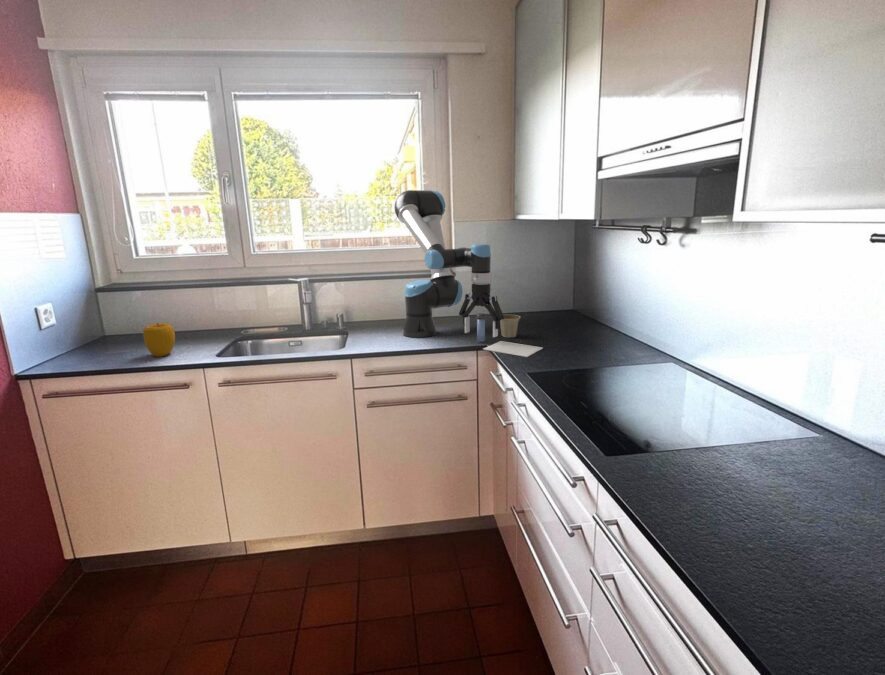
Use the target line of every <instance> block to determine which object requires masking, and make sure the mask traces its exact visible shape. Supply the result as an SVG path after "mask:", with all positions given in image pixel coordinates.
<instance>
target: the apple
mask: <svg viewBox="0 0 885 675" xmlns="http://www.w3.org/2000/svg"><path fill="white" fill-rule="evenodd" d="M142 334H143V341H144V343H145V344H144V345H145V346H146V348H147V350H148V352H149V353H150V354H151V355H152V356H154V357H157V358H161V357H164V356H167V355H169V354H171V353H172V351H173V349H174V346H175V341H176V333H175V328H174V326H173V325H171V323H170V324H169V323H165V322H164V323H161V322H160V323H155V324H154V323H153V324H149V325H148V326H146V327H144V329H143V332H142Z"/></svg>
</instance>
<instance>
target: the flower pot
mask: <svg viewBox="0 0 885 675" xmlns="http://www.w3.org/2000/svg"><path fill="white" fill-rule="evenodd" d="M503 316H504V319H502V320H500V332H501V333H500V334H501V336H502V337H503V338H509V339H510V338H516V337H517V332H518V327H519V321H520V319H521V316H520V315H517V314H503Z"/></svg>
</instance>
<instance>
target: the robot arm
mask: <svg viewBox="0 0 885 675" xmlns="http://www.w3.org/2000/svg"><path fill="white" fill-rule="evenodd" d="M445 211H446V201H445V198H444V196H443V195H442V193H441V192H439V191H436V190H433V189H432V190H431V189H428V190H418V189H417V190H413V189H411V190H410V189H409V190H404V191H403V192H401V193H400V194H399V195H398V196H397V197H396V198H395V202H394V212H395V216H396V217H397V219H398V220H399V222H401V224H404V225H405V226H406V228H407V229H408V230H409V233H411V235H412V236H413V238H414V239H415V241H416V242H417V243H418V245H419V247H420V248H421V250H422V251H423V253H424V262H425V266H426V267H427V268H428V269H429V270H430V273H431V274H430V275H431V277H430V279H421V280H420V279H419V280H414V281H410V282H408V283H407V284H406V285H405V288H404V299H405V302H404V303H405V319H404V324H403V328H402V335H404V336H405V337H408V338H427V337H432V336H435V335H437V327H436V324H435V321H434V318H433V309H441V308H450V307H455V306H457V305H458V304H460V303H461V301H462V297H463V286H462V283H461V282H460V280H457V279H456V277H455V274H454V273H452V272H451V268H452V269H453V268H465V267H466V268H467V267H468V268H471V282H472V284H471V293H470V292H469V293H466V294H465V295H464V300H463V303H462V305H461V307H460V310H459V312H458V315H459V316H461V317H462V324H463V325H464V334H468V333H470V332H471V331H470V330H471V329H470V328H471V327H470V326H471V325H470V324H471V322H470V321H471V320H470V319H471V318H470V316H469V315H470V314H471V312H473V310H474V309H475V307H476V306H477V307H484V308H485V309H486V310H487V311H488V313H489V314H490V316H491V317H492V319H493V321H492V338H496V337H498V336H499V329H501V325H500V320H502V319H504V316H503V315H504V313H503V311H502V309H501V306H500V304H499V302H498V296H497V295H493V296H491V284H490V283H491V260H492V259H491V256H492V253H491V246H490V244H488V243H473V244H471V248H468V247H457V248H448V249H447V248H446V245H445V239H444V235H443V231H442V230H443V229H442V225H441V221H442V219H443V215H444V214H445ZM471 300H472V302H471V303H470V301H471ZM469 304H470V305H469Z"/></svg>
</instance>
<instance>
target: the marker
mask: <svg viewBox="0 0 885 675" xmlns="http://www.w3.org/2000/svg"><path fill="white" fill-rule="evenodd" d="M477 342H478V344H484V342H486V313H484V312H477V313H476V343H477Z"/></svg>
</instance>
